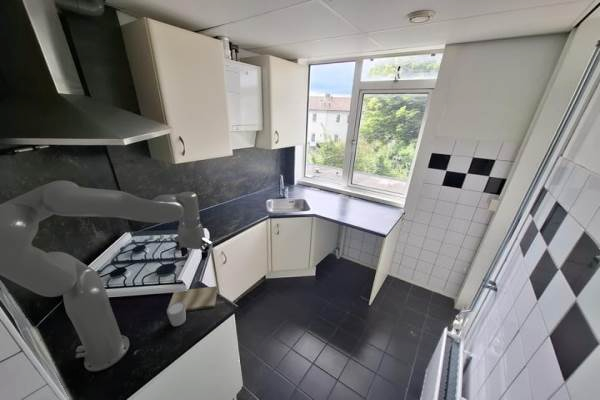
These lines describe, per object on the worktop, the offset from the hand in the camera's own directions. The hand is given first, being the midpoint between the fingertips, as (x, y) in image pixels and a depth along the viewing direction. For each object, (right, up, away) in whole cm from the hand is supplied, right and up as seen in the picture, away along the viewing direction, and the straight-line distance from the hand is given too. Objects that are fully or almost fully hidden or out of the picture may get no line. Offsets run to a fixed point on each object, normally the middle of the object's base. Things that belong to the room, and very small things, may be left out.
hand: (194, 256), depth 97 cm
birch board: (-5, -23, +9) cm, 25 cm away
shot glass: (-6, -27, -2) cm, 28 cm away
